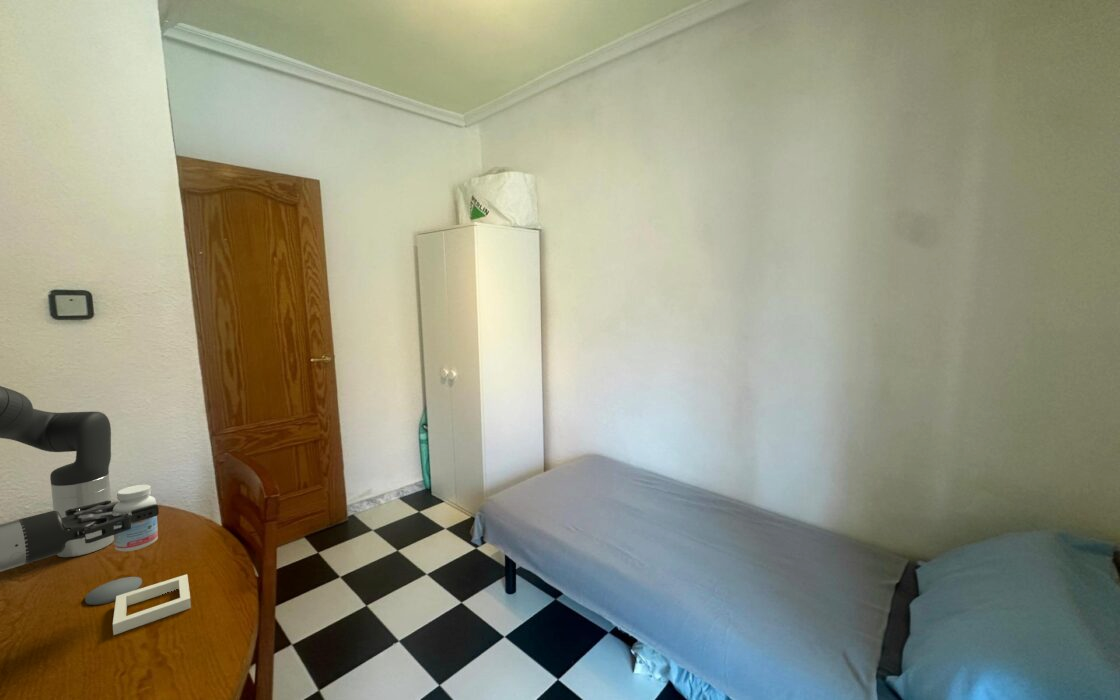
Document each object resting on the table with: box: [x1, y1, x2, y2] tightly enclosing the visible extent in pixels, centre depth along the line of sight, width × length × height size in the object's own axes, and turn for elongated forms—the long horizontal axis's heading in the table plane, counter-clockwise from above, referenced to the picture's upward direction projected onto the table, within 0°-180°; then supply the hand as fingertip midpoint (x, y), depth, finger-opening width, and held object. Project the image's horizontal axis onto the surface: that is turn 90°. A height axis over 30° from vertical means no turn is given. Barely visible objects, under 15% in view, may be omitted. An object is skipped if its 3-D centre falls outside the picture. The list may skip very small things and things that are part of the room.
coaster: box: [84, 576, 143, 606], centre depth 87 cm, size 8×8×1 cm
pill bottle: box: [113, 484, 159, 552], centre depth 83 cm, size 6×6×11 cm
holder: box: [112, 573, 192, 636], centre depth 82 cm, size 10×10×2 cm
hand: (151, 505), depth 85 cm, fingers closed on pill bottle, 6 cm apart
